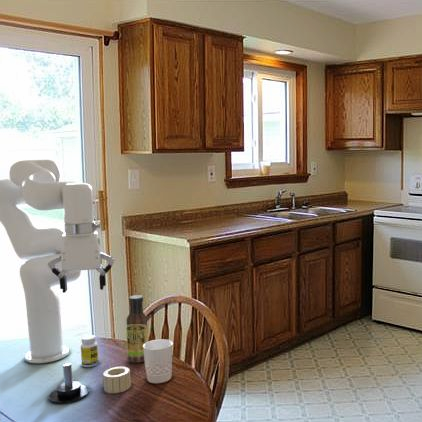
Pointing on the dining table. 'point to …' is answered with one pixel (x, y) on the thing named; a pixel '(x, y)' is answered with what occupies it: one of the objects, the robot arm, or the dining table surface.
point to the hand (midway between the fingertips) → (83, 289)
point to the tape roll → (116, 379)
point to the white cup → (158, 360)
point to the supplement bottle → (89, 351)
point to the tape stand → (68, 389)
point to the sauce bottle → (136, 330)
